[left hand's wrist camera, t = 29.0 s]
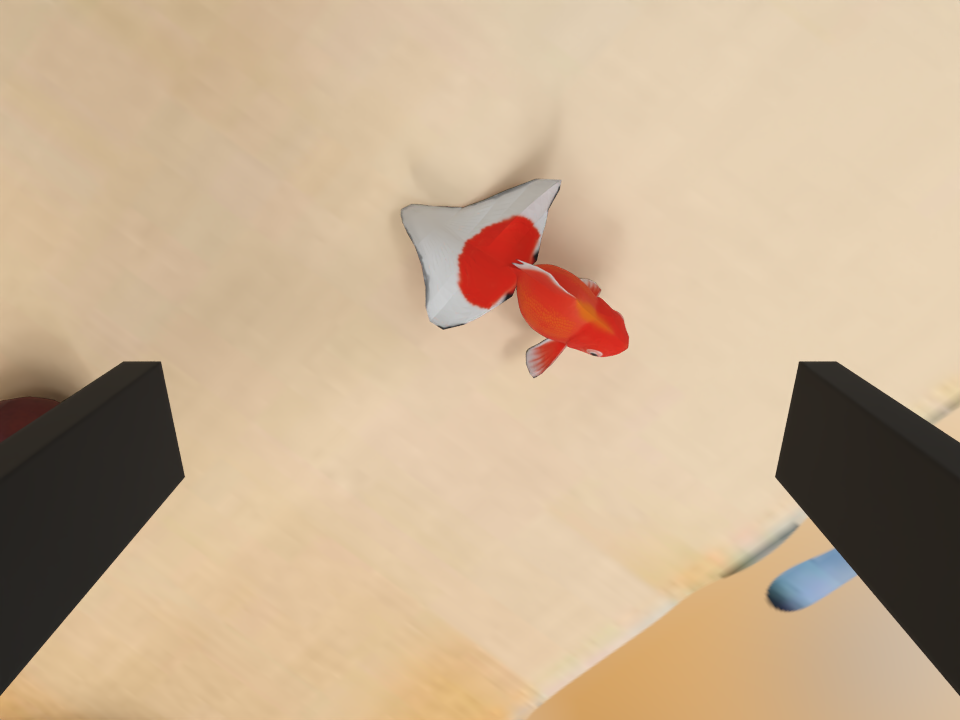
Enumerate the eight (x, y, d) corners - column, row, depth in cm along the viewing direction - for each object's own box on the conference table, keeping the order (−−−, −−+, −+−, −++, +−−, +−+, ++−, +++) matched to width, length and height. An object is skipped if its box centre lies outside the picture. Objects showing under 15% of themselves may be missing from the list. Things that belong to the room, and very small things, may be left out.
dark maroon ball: (-14, 427, 45) (-98, 478, 39) (39, 359, 43) (-40, 401, 37) (73, 486, 47) (6, 544, 40) (127, 423, 45) (67, 474, 38)
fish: (519, 439, 40) (527, 427, 30) (379, 267, 43) (345, 206, 33) (639, 340, 41) (684, 298, 31) (496, 179, 44) (496, 93, 34)
